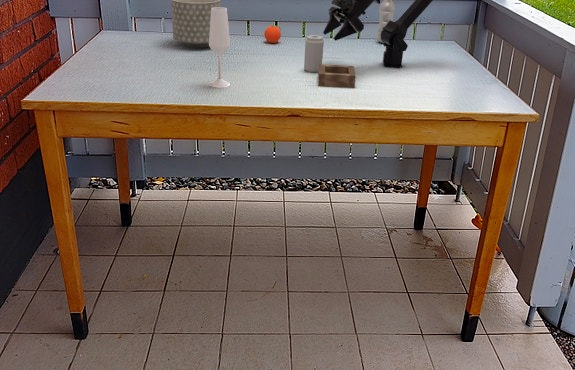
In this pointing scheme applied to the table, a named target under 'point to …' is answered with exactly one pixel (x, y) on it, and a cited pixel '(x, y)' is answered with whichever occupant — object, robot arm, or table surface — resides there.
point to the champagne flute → (219, 40)
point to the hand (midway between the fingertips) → (329, 36)
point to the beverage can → (313, 53)
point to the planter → (192, 21)
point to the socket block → (336, 76)
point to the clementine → (272, 34)
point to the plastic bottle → (385, 16)
